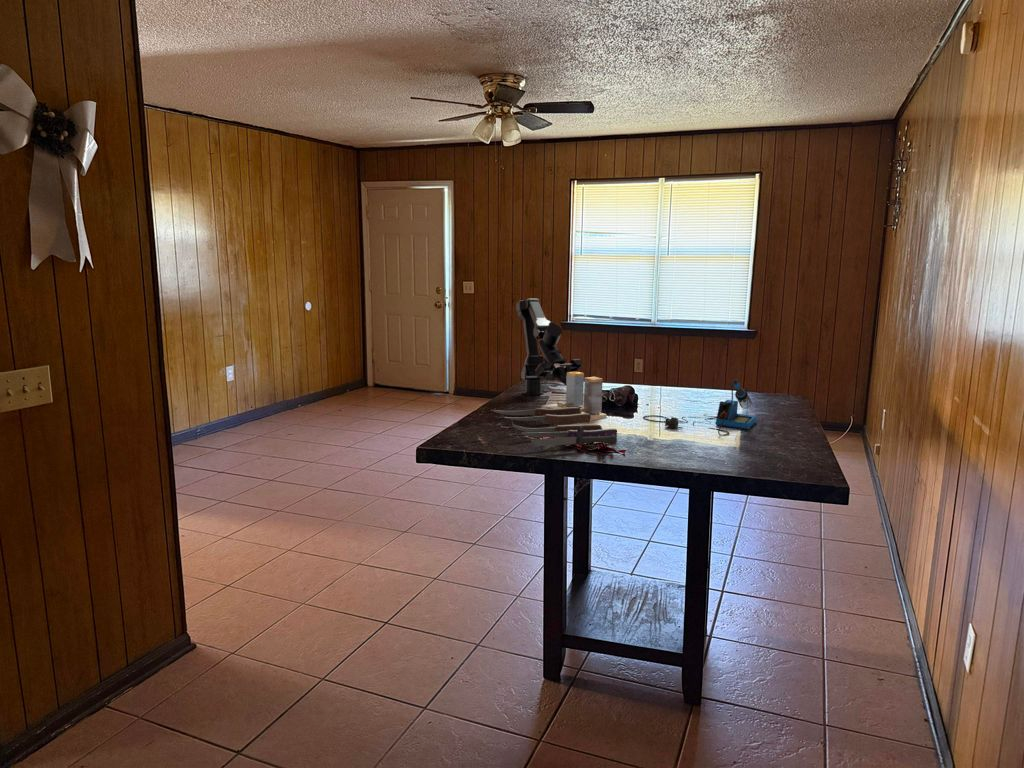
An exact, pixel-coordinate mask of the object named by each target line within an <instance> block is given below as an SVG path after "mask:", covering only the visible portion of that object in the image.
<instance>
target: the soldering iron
mask: <svg viewBox="0 0 1024 768" xmlns="http://www.w3.org/2000/svg"><path fill="white" fill-rule="evenodd" d="M734 390H735V393H734ZM734 395H735V398H736V400H734ZM752 404H753V402H752V400H751V398H750V396H749V394H748V392H747V390H745V389H744V388H742V387H741V385H740V383H739V381H738V380H737V379H734V380H733V381H732V384H731V399H726V400H724V401H722V400H721V401H720V402H719V405H718V411H717V413H716V416H712V415H708V417H707V413H705V414H703V416H705V417H707V418H704V421H705V422H706V421H707V422H706V424H712V422H711V421H708V420H714V419H715V423H714V424H715V425H716V426H719V428H714V427H709V429H710V430H715V429H716V431H717V434H718V435H719V436H720V435H724V436H729V435H730V432H729V431H728V430H724V429H722V427H725V428H731V427H732V429H738V428H740V429H741V430H745V429H749V428H750V427H751V426H752V425H753V424H754V423H755V422H757V416H756V415H751V414H744V413H738V409H739V407H738V406H740V407H741V408H742V409H745V410H746V411H748V409H749V408H750V407H751V406H752ZM703 416H702V417H700V416H699V417H697V416H689V418H694V419H703ZM647 417H657V418H658V417H659V418H664V419H665V421H664V420H655V419H650V418H649V419H648V418H647ZM642 419H644V420H646V421H650V422H654V423H655V422H656V423H665V424H664V426H665V427H668V428H669V429H673V430H676V429H684V427H683V426H679V424H680V423H684V424H687V423H689V421H688V420H686V419H685V418H684V416H682V417H681V419H682V420H679V418H678V417H670V418H669V417H667V416H663V415H653V414H652V415H645V416H642ZM684 421H685V422H684ZM698 423H701V424H703V422H701V421H698ZM755 424H756V423H755ZM755 424H754V425H755ZM754 425H753V426H754ZM692 426H694V427H695V421H693V422H692ZM753 426H752V427H753ZM752 427H751V428H752ZM751 428H750V429H751ZM750 429H749V430H750ZM720 432H725V434H723V433H722V434H721V433H720Z"/></svg>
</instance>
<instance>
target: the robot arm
mask: <svg viewBox="0 0 1024 768" xmlns="http://www.w3.org/2000/svg"><path fill="white" fill-rule="evenodd" d="M515 309H516V312H517V316H518V318H519V319H520V320H521V322H522V325H523V334H524V340H525V349H526V350H525V351H526V356H525V357H526V358H525V360H524V362H523V366H522V369H521V372H520V377H521V379H522V380H524V391H521V394H524V395H528V396H536V395H537V396H539V395H544V392H543V391H542V389H541V386H542V383H541V382H542V381H541V380H546V381H551V380H553V381H554V380H556V379H557V380H559V381H560V382H561V383H562V384H563V385H565V386H566V379H567V372H575V371H577V372H579V370H580V369H581V367H582V366H583V365H584V362H583V361H582V359H581V358H573V359H571V360H570V361H569V362H567V358H566V357H565V358H563V355H562V354H561V353H562V351H563V350H562V349H558V347H557V344H558V343H559V340H560V338H561V335H562V333H563V328H562V327H560V325H557V324H556V322H555V321H550V320H548V319H547V318H546V316H545V313H544V311H543V309H542V307H541V301H540V298H527V299H523V300H521V299H520V300H518V302H516V304H515ZM538 340H540V341H539V344H538ZM539 351H540V352H541V353H542V355H540V353H539ZM566 362H567V363H566Z"/></svg>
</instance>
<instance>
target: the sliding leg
mask: <svg viewBox="0 0 1024 768" xmlns="http://www.w3.org/2000/svg"><path fill="white" fill-rule="evenodd" d="M584 380H585V373H584V372H580V371H575V372H567V379H566V385H565V389H566V391H565V393H566V394H565V402H566V403H564V404H558V407H562V408H564V406H572V407H576V406H580V407H583V406H584Z"/></svg>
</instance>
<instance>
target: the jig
mask: <svg viewBox="0 0 1024 768" xmlns="http://www.w3.org/2000/svg"><path fill="white" fill-rule="evenodd" d="M603 381H604V380H603V378H602V377H597V376H590V377H589V376H588V377H584V392H583V406H576V407H579V408H580V414H583V413H589V414H590V416H591V420H590V421H596V420H600V419H606V418H607V414H606V413H603V412H602V406H603V405H602V404H603ZM565 402H566V401H563V400H562V401H556V403H551V404H550V403H549V404H543V405H541V407H540V408H544V409H557V408H562V407H558V406H557V404H564V403H565ZM566 407H572V406H566Z"/></svg>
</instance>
